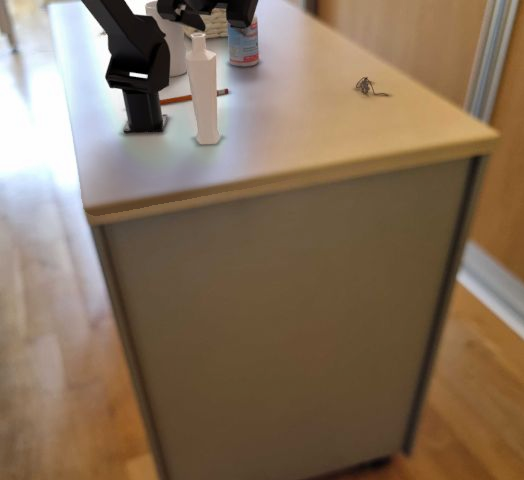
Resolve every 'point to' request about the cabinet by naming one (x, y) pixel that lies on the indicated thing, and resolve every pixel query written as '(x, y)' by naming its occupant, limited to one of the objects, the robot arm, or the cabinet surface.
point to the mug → (171, 40)
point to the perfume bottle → (203, 89)
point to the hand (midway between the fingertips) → (225, 31)
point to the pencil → (187, 97)
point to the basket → (211, 25)
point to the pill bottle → (244, 45)
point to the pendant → (366, 86)
